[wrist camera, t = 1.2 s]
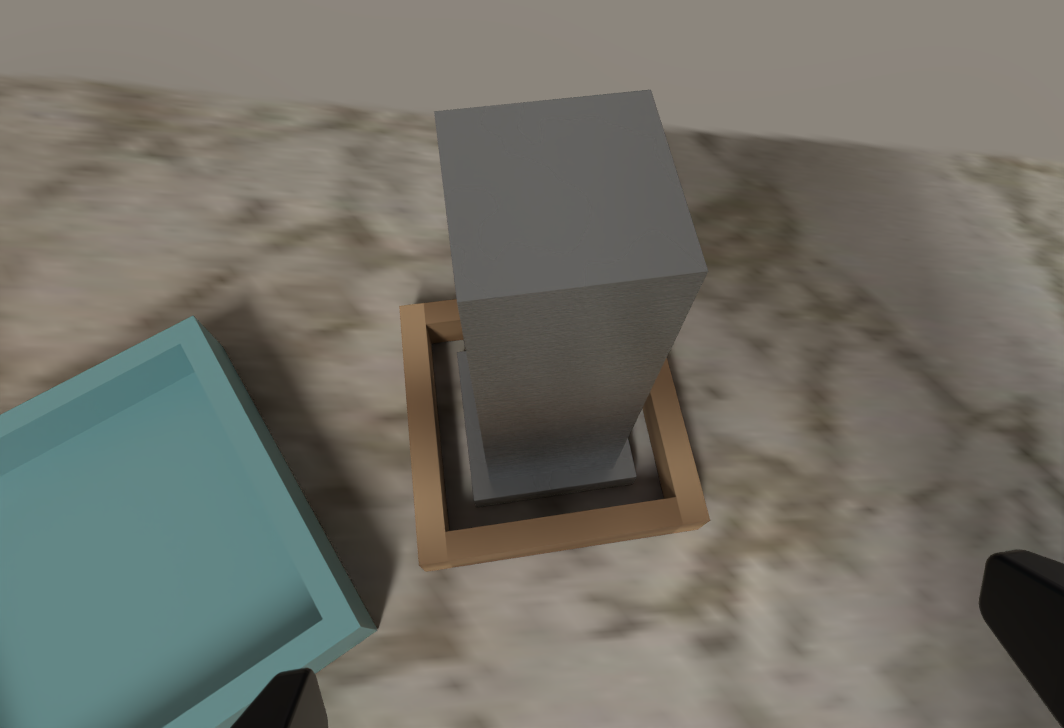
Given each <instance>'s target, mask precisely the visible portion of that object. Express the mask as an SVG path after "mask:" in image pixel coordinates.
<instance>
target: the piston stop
mask: <svg viewBox="0 0 1064 728" xmlns="http://www.w3.org/2000/svg"><path fill="white" fill-rule="evenodd" d="M434 113H435V121H436V130H437V138H438V147H439V155H440V163H441V172H442V180H443V189H444V197H445V205H446V214H447V222H448V231H449V239H450V248H451V256H452V264H453V273H454V281H455V290H456V298H457V305H458V310H459V316H460V321H461V327H462V332H463V338H464V343H465V349H466V351H464V352H457V357H458V365H459V374H460V383H461V392H462V400H463V409H464V418H465V426H466V435H467V444H468V453H469V461H470V470H471V479H472V488H473V496H474V502H475V506H476V507H482V506H488V505H495V504H502V503H508V502H515V501H522V500H529V499H535V498H542V497H549V496H556V495H562V494H569V493H576V492H582V491H589V490H596V489H603V488H609V487H616V486H623V485H630V484H633V482H634V480H635V479H636V477H637V476H636V471H635V467H634V462H633V458H632V454H631V449H630V445H629V440H628V437H629V435H630V432H631V430H632V428H633V426H634V424H635V422H636V420H637V418H638V416H639V414H640V412H641V410H642V408H643V405H644V403H645V401H646V399H647V397H648V395H649V393H650V391H651V389H652V387H653V385H654V383H655V380H656V378H657V376H658V374H659V372H660V370H661V368H662V366H663V364H664V362H665V360H666V358H667V356H668V353H669V351H670V349H671V347H672V345H673V343H674V341H675V339H676V337H677V335H678V333H679V331H680V329H681V326H682V324H683V322H684V320H685V318H686V316H687V314H688V312H689V310H690V308H691V306H692V304H693V302H694V299H695V297H696V295H697V293H698V291H699V289H700V287H701V285H702V283H703V281H704V279H705V277H706V275H707V272H708V269H707V266H706V263H705V260H704V257H703V253H702V250H701V247H700V244H699V241H698V238H697V234H696V231H695V228H694V225H693V222H692V219H691V215H690V212H689V209H688V206H687V203H686V200H685V196H684V193H683V190H682V187H681V184H680V181H679V177H678V174H677V171H676V168H675V165H674V161H673V158H672V155H671V152H670V149H669V146H668V142H667V139H666V136H665V133H664V130H663V127H662V123H661V120H660V117H659V114H658V111H657V108H656V104H655V102H654V98H653V95H652V92H651V90H643V91H633V92H623V93H613V94H603V95H594V96H583V97H574V98H563V99H553V100H543V101H533V102H524V103H514V104H504V105H494V106H484V107H474V108H464V109H454V110H444V111H434Z"/></svg>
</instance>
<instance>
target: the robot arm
mask: <svg viewBox="0 0 1064 728" xmlns="http://www.w3.org/2000/svg"><path fill="white" fill-rule="evenodd" d="M979 608H980V612H981V614H982V617H983V619H984V620H985V622H986V624H987V625H988V626H989V628H990V629H991V631H992V632H993V633H994V635H995V636H996V637H997V639H998V640H999V642H1000V643H1001V644H1002V646H1003V647H1004V649H1005V650H1006V651H1007V653H1008V654H1009V655H1010V657H1011V658H1012V660H1013V661H1014V662H1015V664H1016V665H1017V666H1018V668H1019V669H1020V671H1021V672H1022V673H1023V675H1024V676H1025V678H1026V679H1027V680H1028V682H1029V683H1030V684H1031V686H1032V687H1033V689H1034V690H1035V691H1036V693H1037V694H1038V695H1039V697H1040V698H1041V700H1042V701H1043V702H1044V704H1045V705H1046V706H1047V708H1048V709H1049V711H1050V712H1051V713H1052V715H1053V716H1054V717H1055V719H1056V720H1057V721H1058V723H1059V724H1060V725H1061V727H1062V728H1064V564H1063V563H1060V562H1057V561H1054V560H1052V559H1049V558H1046V557H1043V556H1040V555H1038V554H1035V553H1032V552H1029V551H1026V550H1012V551H1005V552H999V553H994V554H992V555H991V556H990V557H989V558H988V559H987V561H986V565H985V570H984V575H983V581H982V586H981V592H980V597H979ZM230 728H328V719H327V714H326V710H325V706H324V703H323V699H322V696H321V692H320V689H319V685H318V682H317V678H316V675H315V673H314V672H313V670H312V669H310V668H300V669H294V670H288V671H282V672H280V673H278V674H276V675H275V676H274V677H273V678H272V679H271V680H270V681H269V683H268V684H267V685H266V686H265V687H264V688H263V690H262V691H261V692H260V693H259V694H258V695H257V697H256V698H255V699H254V700H253V701H252V702H251V704H250V705H249V706H248V707H247V708H246V709H245V711H244V712H243V713H242V714H241V715H240V716H239V718H238V719H237V720H236V721H235V722H234V723H233V724H232V726H231V727H230Z"/></svg>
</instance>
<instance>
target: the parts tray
mask: <svg viewBox="0 0 1064 728" xmlns="http://www.w3.org/2000/svg"><path fill="white" fill-rule="evenodd" d="M376 631H377V628H376V626H375V624H374V623H373V621H372V619H371V617H370V615H369V613H368V612H367V610H366V608H365V606H364V604H363V603H362V601H361V599H360V597H359V595H358V593H357V592H356V590H355V588H354V586H353V584H352V582H351V581H350V579H349V577H348V575H347V573H346V571H345V570H344V568H343V566H342V564H341V562H340V560H339V559H338V557H337V555H336V553H335V551H334V549H333V548H332V546H331V544H330V542H329V540H328V538H327V537H326V535H325V533H324V531H323V529H322V527H321V526H320V524H319V522H318V520H317V518H316V516H315V515H314V513H313V511H312V509H311V507H310V506H309V504H308V502H307V500H306V498H305V496H304V495H303V493H302V491H301V489H300V487H299V485H298V484H297V482H296V480H295V478H294V476H293V474H292V473H291V471H290V469H289V467H288V465H287V463H286V462H285V460H284V458H283V456H282V454H281V452H280V451H279V449H278V447H277V445H276V443H275V441H274V440H273V438H272V436H271V434H270V432H269V430H268V429H267V427H266V425H265V423H264V421H263V419H262V418H261V416H260V414H259V412H258V410H257V409H256V407H255V405H254V403H253V401H252V399H251V398H250V396H249V394H248V392H247V390H246V388H245V387H244V385H243V383H242V381H241V379H240V377H239V376H238V374H237V372H236V370H235V368H234V366H233V365H232V363H231V361H230V359H229V357H228V355H227V354H226V352H225V350H224V348H223V346H222V345H221V344H220V343H219V342H218V341H217V340H216V339H215V338H214V337H213V336H212V335H211V333H210V332H209V331H208V330H207V329H206V328H205V327H204V326H203V325H202V324H201V323H200V322H199V321H198V320H197V319H196V318H195V317H194V316H191V317H189V318H187V319H185V320H183V321H182V322H180V323H178V324H176V325H174V326H172V327H170V328H168V329H166V330H164V331H162V332H160V333H158V334H156V335H154V336H152V337H150V338H149V339H147V340H145V341H143V342H141V343H139V344H137V345H135V346H133V347H131V348H129V349H127V350H125V351H123V352H121V353H119V354H117V355H116V356H114V357H112V358H110V359H108V360H106V361H104V362H102V363H100V364H98V365H96V366H94V367H92V368H90V369H88V370H86V371H84V372H83V373H81V374H79V375H77V376H75V377H73V378H71V379H69V380H67V381H65V382H63V383H61V384H59V385H57V386H55V387H53V388H52V389H50V390H48V391H46V392H44V393H42V394H40V395H38V396H36V397H34V398H32V399H30V400H28V401H26V402H24V403H22V404H20V405H19V406H17V407H15V408H13V409H11V410H9V411H7V412H5V413H3V414H1V415H0V728H230V727H231V726H232V724H233V723H234V722H235V721H236V720H237V719H238V718H239V716H240V715H241V714H242V713H243V712H244V711H245V709H246V708H247V707H248V706H249V705H250V704H251V702H252V701H253V700H254V699H255V698H256V697H257V695H258V694H259V693H260V692H261V691H262V690H263V688H264V687H265V686H266V685H267V684H268V683H269V681H270V680H271V679H272V678H273V677H274V676H275V675H276V674H278V673H280V672H282V671H288V670H294V669H300V668H310V669H312V670H313V672H314V673H317V672H318V671H320V670H321V669H323V668H324V667H326V666H327V665H328V664H330V663H331V662H333V661H334V660H336V659H337V658H338V657H340V656H341V655H343V654H344V653H346V652H347V651H348V650H350V649H351V648H353V647H354V646H356V645H357V644H359V643H360V642H361V641H363V640H364V639H366V638H367V637H369V636H370V635H371V634H373V633H374V632H376Z"/></svg>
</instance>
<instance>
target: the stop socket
mask: <svg viewBox="0 0 1064 728" xmlns="http://www.w3.org/2000/svg"><path fill="white" fill-rule="evenodd" d="M399 307H400V320H401V333H402V347H403V360H404V373H405V387H406V400H407V413H408V426H409V440H410V453H411V466H412V480H413V493H414V506H415V520H416V533H417V546H418V559H419V566H420V567H421V568H422V569H424V570H425V571H426V572H427V571H433V570H440V569H446V568H453V567H459V566H466V565H472V564H479V563H485V562H491V561H498V560H504V559H511V558H517V557H524V556H530V555H536V554H543V553H549V552H556V551H562V550H569V549H575V548H582V547H588V546H594V545H601V544H607V543H614V542H620V541H627V540H633V539H640V538H646V537H652V536H659V535H665V534H672V533H678V532H685V531H691V530H698V529H699V528H700V527H702V526H703V525H705V524H706V523H707V522H709V521H710V518H709V514H708V510H707V507H706V503H705V499H704V495H703V492H702V488H701V484H700V480H699V477H698V473H697V469H696V465H695V462H694V458H693V454H692V450H691V447H690V443H689V439H688V435H687V432H686V428H685V424H684V420H683V416H682V413H681V409H680V405H679V401H678V398H677V394H676V390H675V386H674V383H673V379H672V375H671V371H670V368H669V364H668V360H667V358H666V360H665V362H664V364H663V366H662V368H661V370H660V372H659V374H658V376H657V378H656V380H655V383H654V385H653V387H652V389H651V391H650V393H649V395H648V397H647V399H646V401H645V403H644V405H643V412H644V417H645V421H646V425H647V429H648V433H649V437H650V442H651V446H652V450H653V454H654V458H655V463H656V467H657V471H658V475H659V479H660V483H661V488H662V492H663V496H664V499H660V500H654V501H647V502H640V503H634V504H627V505H620V506H614V507H607V508H601V509H594V510H587V511H581V512H574V513H567V514H561V515H554V516H548V517H541V518H534V519H528V520H521V521H514V522H508V523H501V524H494V525H488V526H481V527H475V528H468V529H461V530H455V531H449V524H448V513H447V503H446V492H445V482H444V472H443V461H442V451H441V440H440V430H439V420H438V409H437V399H436V389H435V378H434V368H433V357H432V347H431V344H432V343H440V342H448V341H455V340H463V339H464V338H463V332H462V327H461V321H460V316H459V310H458V305H457V299H453V300H445V301H437V302H429V303H421V304H412V305H404V306H399Z"/></svg>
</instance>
